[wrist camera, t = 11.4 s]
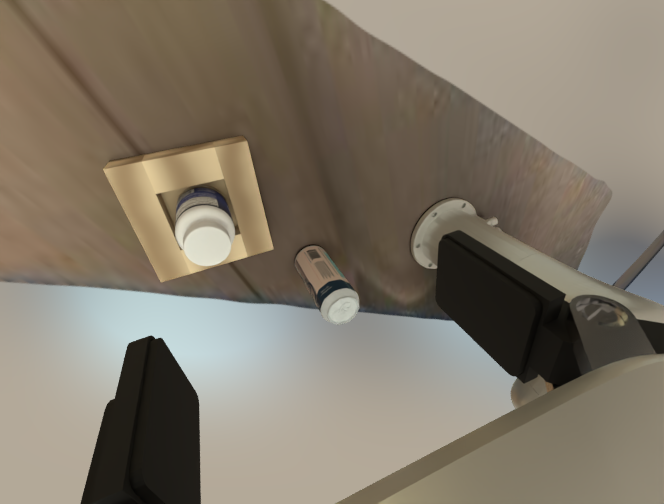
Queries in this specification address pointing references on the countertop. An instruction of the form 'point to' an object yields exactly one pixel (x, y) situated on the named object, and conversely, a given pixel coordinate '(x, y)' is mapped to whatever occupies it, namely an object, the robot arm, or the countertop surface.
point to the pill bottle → (204, 225)
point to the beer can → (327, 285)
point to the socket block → (171, 181)
